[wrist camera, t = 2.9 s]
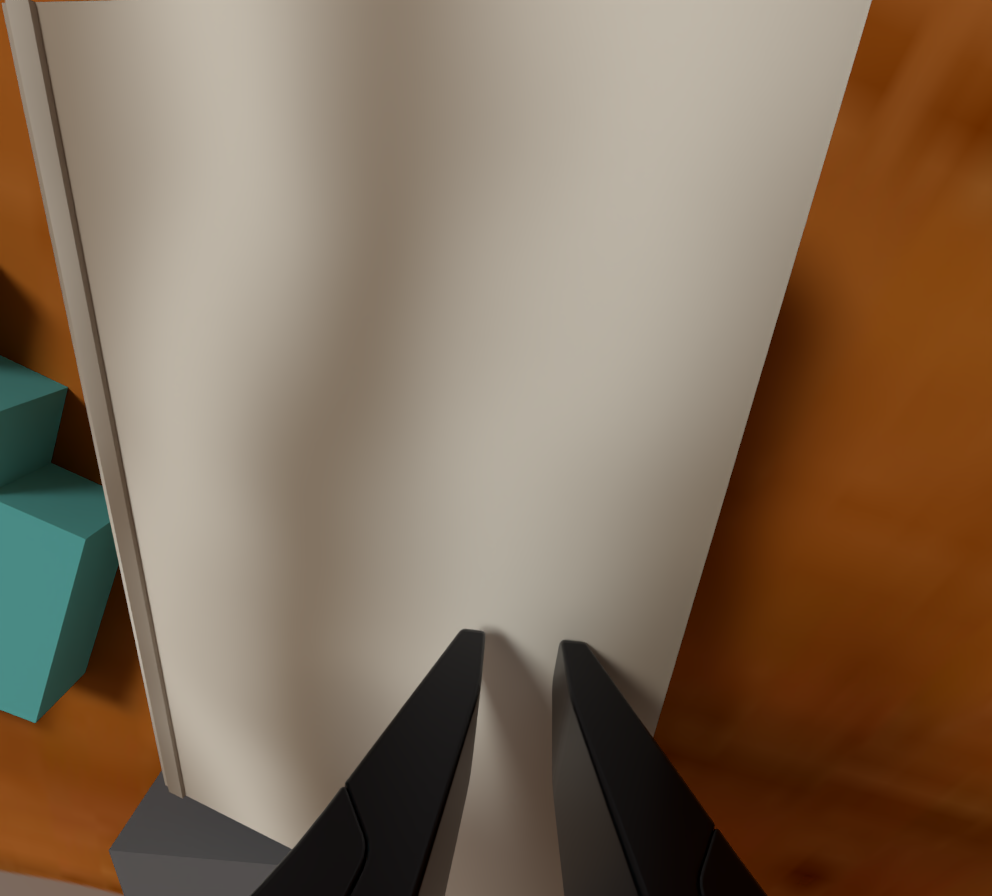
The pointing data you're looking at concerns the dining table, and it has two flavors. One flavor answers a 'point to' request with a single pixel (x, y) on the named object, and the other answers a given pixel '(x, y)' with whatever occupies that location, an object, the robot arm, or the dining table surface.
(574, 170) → the white flat slab
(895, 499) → the dining table surface
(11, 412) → the alien figure
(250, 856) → the block
